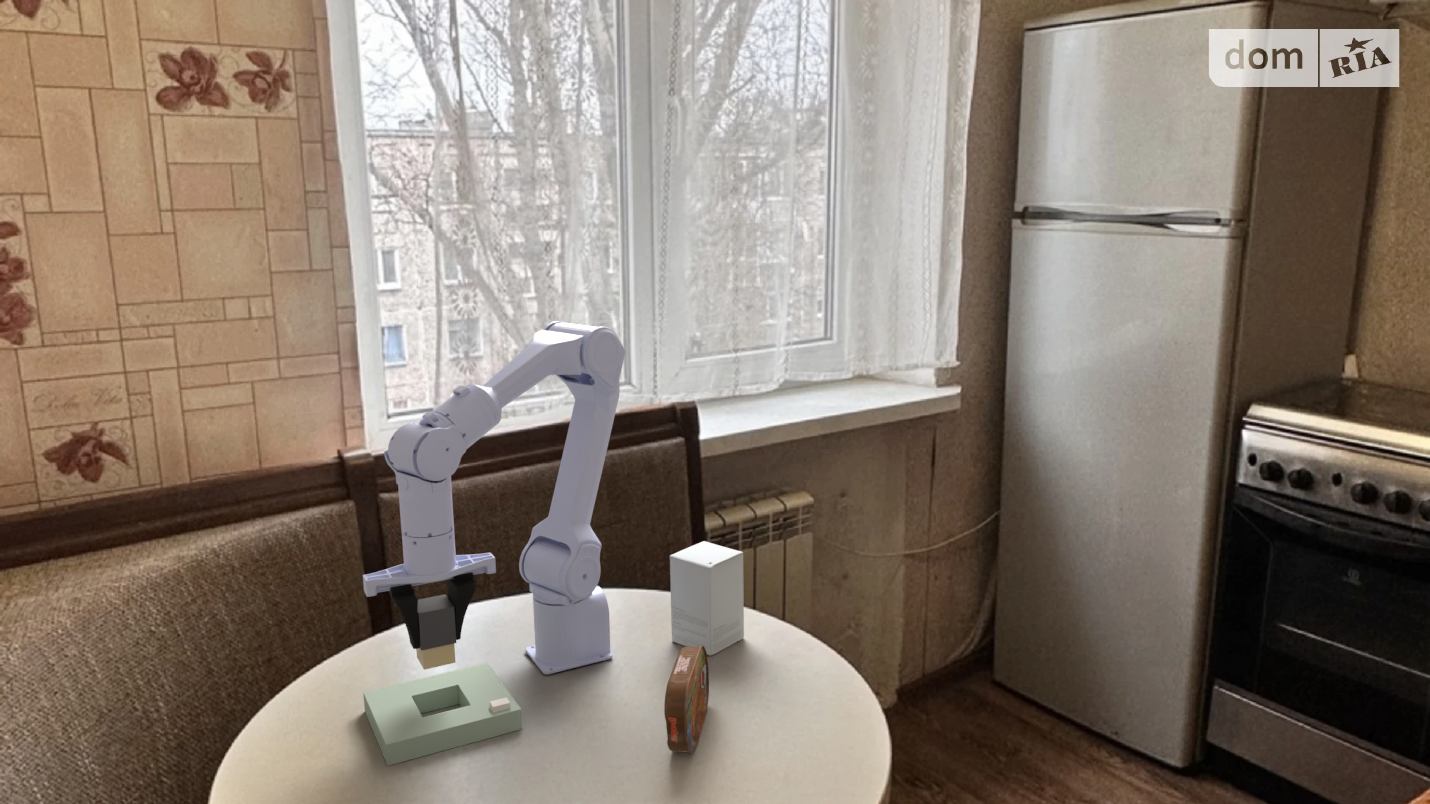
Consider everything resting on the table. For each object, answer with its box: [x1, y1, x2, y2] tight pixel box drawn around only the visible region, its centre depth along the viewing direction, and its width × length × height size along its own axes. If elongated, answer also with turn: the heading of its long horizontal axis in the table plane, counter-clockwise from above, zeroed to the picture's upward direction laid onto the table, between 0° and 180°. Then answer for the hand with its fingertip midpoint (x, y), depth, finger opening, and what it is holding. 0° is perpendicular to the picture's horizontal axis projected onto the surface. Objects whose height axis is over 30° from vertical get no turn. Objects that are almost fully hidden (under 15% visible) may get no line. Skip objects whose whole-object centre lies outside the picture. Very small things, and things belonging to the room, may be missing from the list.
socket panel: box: [362, 662, 523, 766], centre depth 116 cm, size 15×13×3 cm
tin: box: [663, 646, 710, 754], centre depth 114 cm, size 15×3×8 cm, turn 172°
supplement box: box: [669, 540, 745, 656], centre depth 135 cm, size 7×7×13 cm
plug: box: [415, 593, 457, 670], centre depth 116 cm, size 4×4×7 cm
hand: (435, 640), depth 116 cm, fingers closed on plug, 4 cm apart
